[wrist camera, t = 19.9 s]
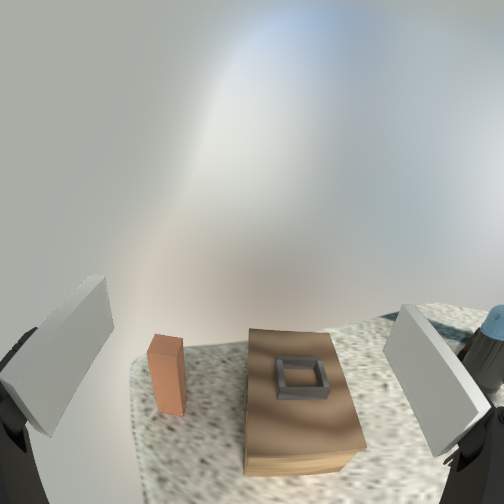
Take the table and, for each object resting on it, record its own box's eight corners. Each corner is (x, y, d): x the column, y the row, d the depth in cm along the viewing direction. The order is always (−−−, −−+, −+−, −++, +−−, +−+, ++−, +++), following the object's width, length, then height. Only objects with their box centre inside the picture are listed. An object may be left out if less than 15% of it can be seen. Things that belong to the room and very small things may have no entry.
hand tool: (465, 366, 48) (473, 352, 46) (454, 359, 51) (463, 345, 49) (482, 342, 57) (488, 330, 55) (473, 336, 60) (479, 324, 58)
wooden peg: (164, 394, 40) (155, 333, 35) (187, 398, 40) (182, 338, 35) (159, 411, 36) (146, 352, 31) (183, 416, 36) (176, 357, 31)
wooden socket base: (243, 363, 50) (249, 319, 46) (317, 366, 51) (331, 324, 47) (239, 477, 27) (247, 447, 23) (342, 473, 28) (373, 439, 24)
